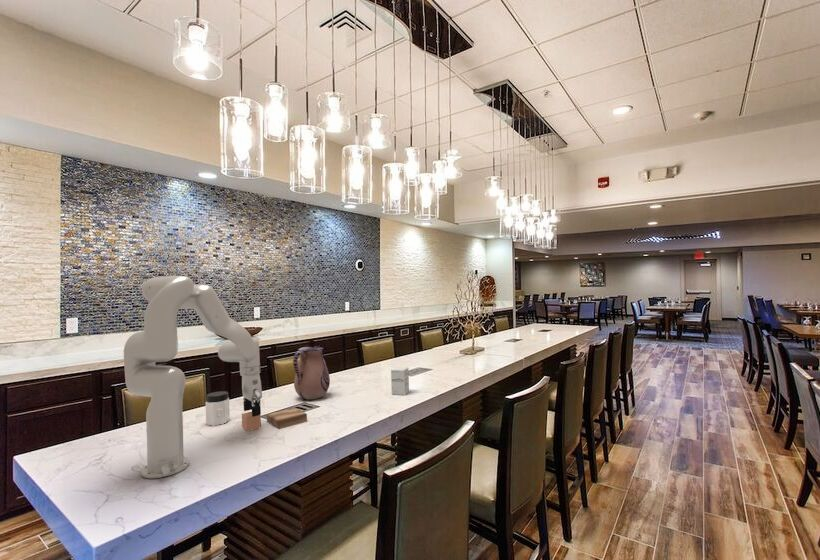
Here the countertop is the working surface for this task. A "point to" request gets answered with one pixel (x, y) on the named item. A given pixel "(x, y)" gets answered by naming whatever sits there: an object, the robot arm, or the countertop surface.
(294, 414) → the block
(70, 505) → the countertop surface
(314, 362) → the ceramic pitcher
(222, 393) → the jar
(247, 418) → the cube
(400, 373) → the supplement box
